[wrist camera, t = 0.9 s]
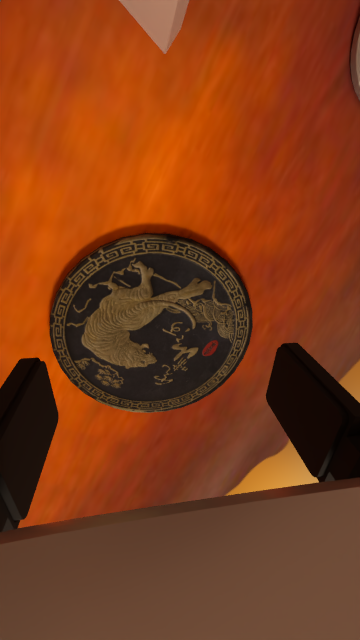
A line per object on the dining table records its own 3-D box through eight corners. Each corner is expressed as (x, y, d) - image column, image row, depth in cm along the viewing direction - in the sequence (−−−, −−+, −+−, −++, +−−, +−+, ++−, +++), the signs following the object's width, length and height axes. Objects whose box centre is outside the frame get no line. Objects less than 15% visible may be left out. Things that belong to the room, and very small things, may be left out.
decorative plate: (291, 323, 41) (167, 437, 48) (285, 318, 42) (166, 429, 49) (139, 176, 28) (4, 359, 36) (139, 177, 30) (10, 351, 37)
